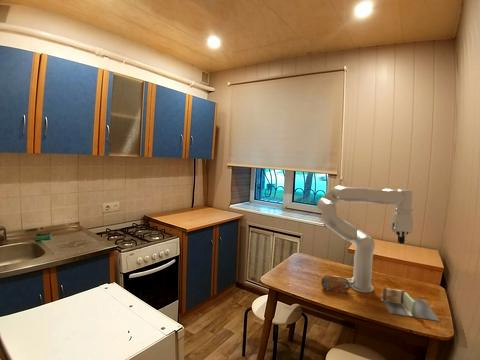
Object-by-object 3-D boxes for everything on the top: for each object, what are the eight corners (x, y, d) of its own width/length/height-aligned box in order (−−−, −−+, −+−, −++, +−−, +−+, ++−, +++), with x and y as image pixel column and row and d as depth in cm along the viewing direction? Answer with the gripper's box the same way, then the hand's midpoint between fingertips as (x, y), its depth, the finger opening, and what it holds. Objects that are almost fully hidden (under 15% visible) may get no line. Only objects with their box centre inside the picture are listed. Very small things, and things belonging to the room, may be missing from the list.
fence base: (386, 313, 130) (387, 299, 130) (378, 293, 148) (379, 281, 148) (439, 321, 124) (441, 307, 123) (424, 300, 142) (425, 287, 142)
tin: (321, 289, 153) (321, 274, 152) (321, 286, 156) (322, 272, 155) (349, 294, 148) (350, 279, 147) (349, 291, 151) (350, 277, 150)
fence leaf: (402, 303, 138) (403, 291, 137) (405, 303, 137) (406, 292, 137) (412, 314, 128) (413, 302, 127) (415, 315, 128) (416, 302, 127)
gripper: (411, 210, 154) (409, 241, 156) (386, 209, 154) (384, 240, 156) (420, 212, 147) (418, 245, 149) (394, 212, 146) (392, 245, 148)
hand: (400, 243), depth 152 cm, fingers closed
